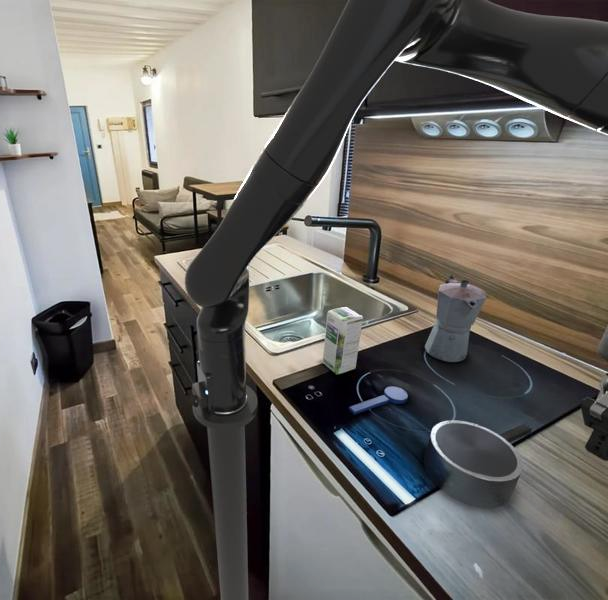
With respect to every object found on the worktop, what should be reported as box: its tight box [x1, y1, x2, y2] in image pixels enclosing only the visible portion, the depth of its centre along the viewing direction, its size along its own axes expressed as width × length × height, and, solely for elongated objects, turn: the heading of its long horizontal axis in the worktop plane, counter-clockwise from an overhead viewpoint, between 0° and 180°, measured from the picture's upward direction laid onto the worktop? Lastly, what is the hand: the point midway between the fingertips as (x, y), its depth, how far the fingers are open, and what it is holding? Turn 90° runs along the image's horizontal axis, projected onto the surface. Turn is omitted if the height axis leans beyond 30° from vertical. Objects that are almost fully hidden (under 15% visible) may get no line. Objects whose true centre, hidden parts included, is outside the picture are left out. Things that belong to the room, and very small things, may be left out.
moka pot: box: [424, 275, 487, 363], centre depth 87 cm, size 10×15×20 cm, turn 172°
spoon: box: [348, 386, 409, 415], centre depth 76 cm, size 14×4×1 cm, turn 110°
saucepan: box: [423, 419, 533, 509], centre depth 60 cm, size 19×12×6 cm, turn 110°
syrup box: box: [322, 306, 364, 375], centre depth 85 cm, size 6×6×14 cm
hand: (599, 453), depth 42 cm, fingers closed
